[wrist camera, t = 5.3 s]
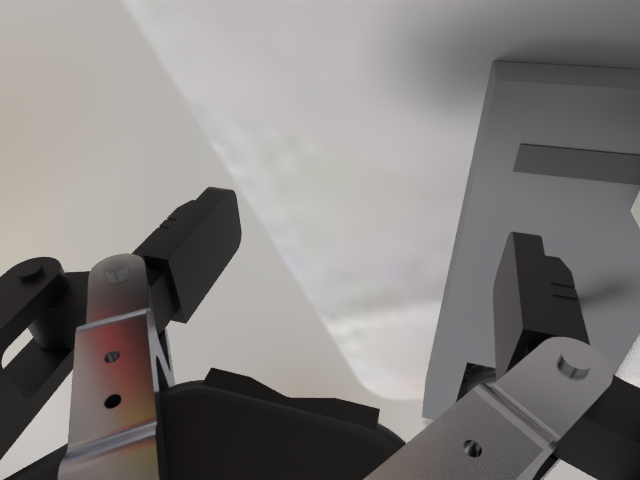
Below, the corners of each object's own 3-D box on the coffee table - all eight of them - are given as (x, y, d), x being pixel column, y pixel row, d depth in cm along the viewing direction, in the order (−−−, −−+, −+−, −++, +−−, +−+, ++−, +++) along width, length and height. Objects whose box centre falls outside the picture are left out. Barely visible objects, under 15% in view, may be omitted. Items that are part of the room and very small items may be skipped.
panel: (492, 60, 19) (496, 85, 16) (737, 74, 17) (792, 105, 14) (425, 380, 32) (421, 426, 29) (560, 410, 30) (570, 462, 27)
